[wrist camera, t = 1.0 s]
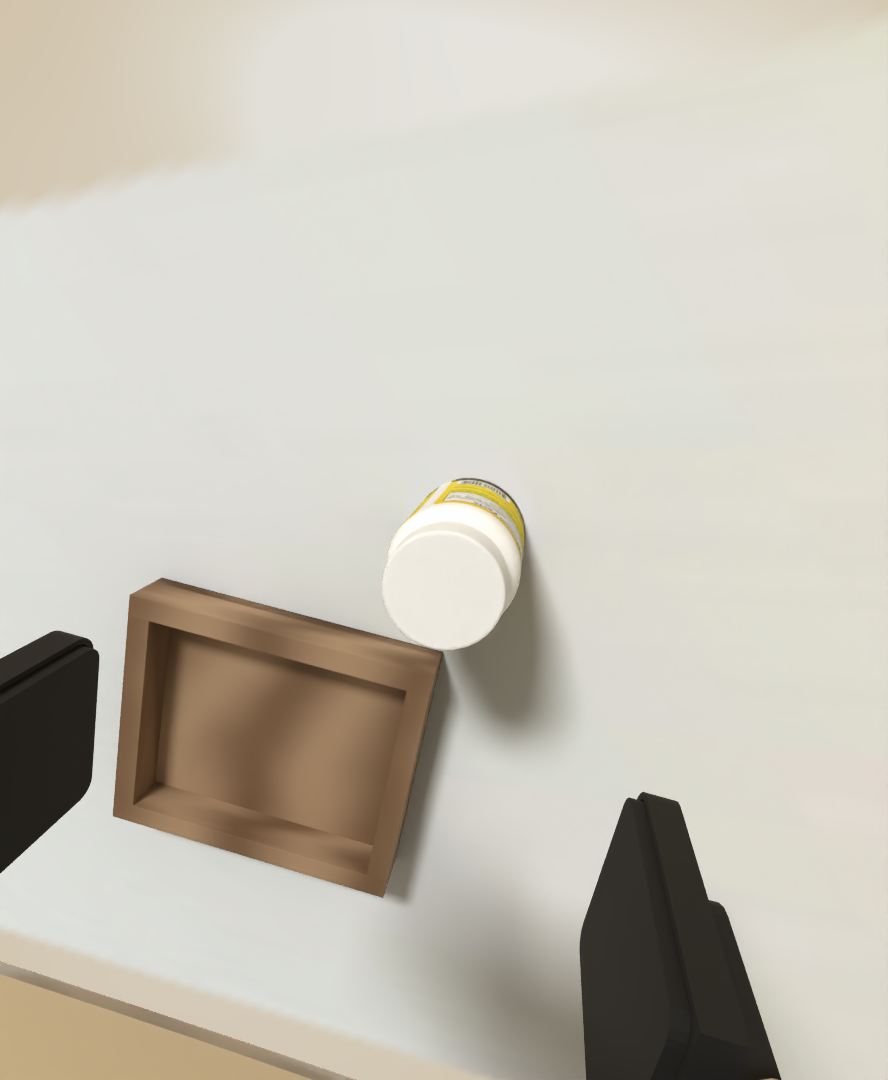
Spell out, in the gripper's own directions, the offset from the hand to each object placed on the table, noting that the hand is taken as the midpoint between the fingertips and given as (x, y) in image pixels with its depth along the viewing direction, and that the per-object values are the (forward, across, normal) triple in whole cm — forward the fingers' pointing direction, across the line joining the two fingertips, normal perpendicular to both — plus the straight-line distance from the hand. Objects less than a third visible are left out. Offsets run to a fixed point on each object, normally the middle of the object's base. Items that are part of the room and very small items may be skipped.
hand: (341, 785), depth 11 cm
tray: (+18, +7, +12) cm, 23 cm away
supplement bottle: (+18, 0, 0) cm, 18 cm away
